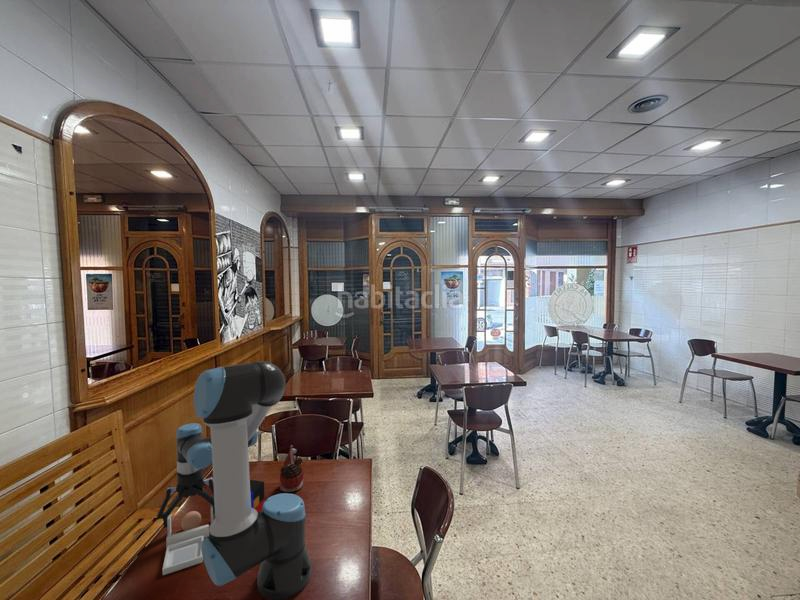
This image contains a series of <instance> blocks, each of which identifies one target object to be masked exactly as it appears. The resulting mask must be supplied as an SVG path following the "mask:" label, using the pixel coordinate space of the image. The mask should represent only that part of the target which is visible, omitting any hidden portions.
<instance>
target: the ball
mask: <svg viewBox="0 0 800 600" xmlns="http://www.w3.org/2000/svg"><path fill="white" fill-rule="evenodd" d="M181 519H182V520H181V522H180V524H181V525H180V526H181V528H182V530H183V531H187V530H190V529H194V528H197V527H200V524H201V522H202V515H201V513H199V512H198V511H196V510H191V511H189V512H187V513H186V514H185V515H184V516H183V517H182V518H181Z"/></svg>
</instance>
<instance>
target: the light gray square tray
mask: <svg viewBox="0 0 800 600" xmlns="http://www.w3.org/2000/svg"><path fill="white" fill-rule="evenodd" d="M204 539H205V538H204V535H202V536H199V537H196V538H192V539H189V540H186V541H182V542H179V543H176V544H172V545H169V546H166V551H165V555H164V561H163V565H162V576H165V575H168V574H172V573H174V572H177V571H181V570H183V569H186V568H189V567H192V566H196V565H199V564H201V563H203V562H204V559H203V556H202V550H201V542H202V541H203V540H204Z"/></svg>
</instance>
